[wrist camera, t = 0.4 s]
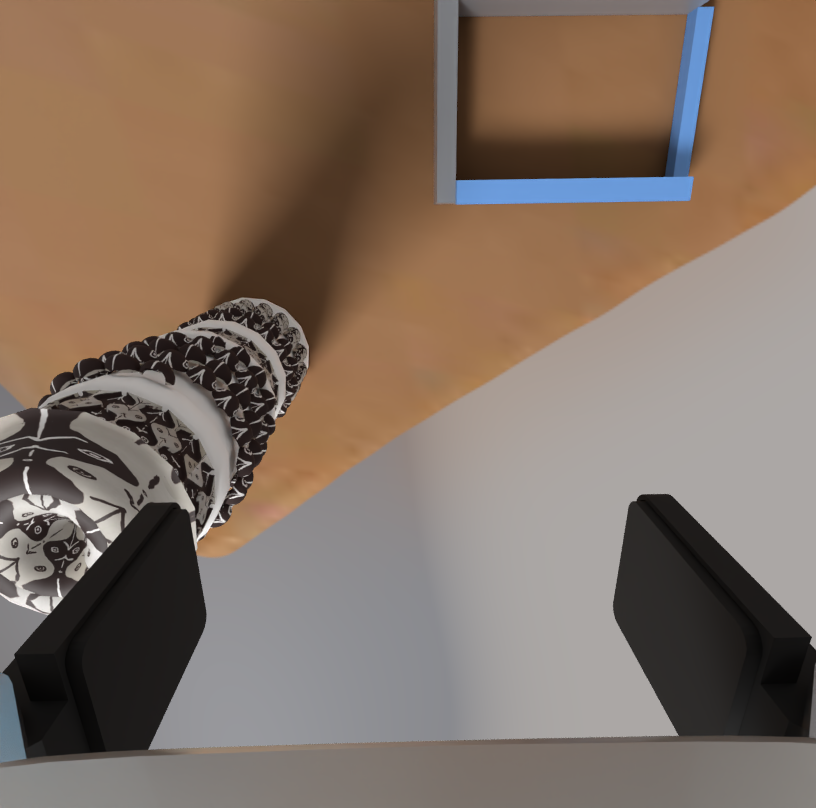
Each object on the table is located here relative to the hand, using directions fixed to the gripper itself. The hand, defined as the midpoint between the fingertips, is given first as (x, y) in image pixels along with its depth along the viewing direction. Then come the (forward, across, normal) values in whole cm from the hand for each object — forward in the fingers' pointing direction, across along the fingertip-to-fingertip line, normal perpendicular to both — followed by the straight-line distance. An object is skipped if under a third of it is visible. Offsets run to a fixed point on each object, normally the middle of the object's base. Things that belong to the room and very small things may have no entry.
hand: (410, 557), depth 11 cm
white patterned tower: (+30, +11, +3) cm, 32 cm away
